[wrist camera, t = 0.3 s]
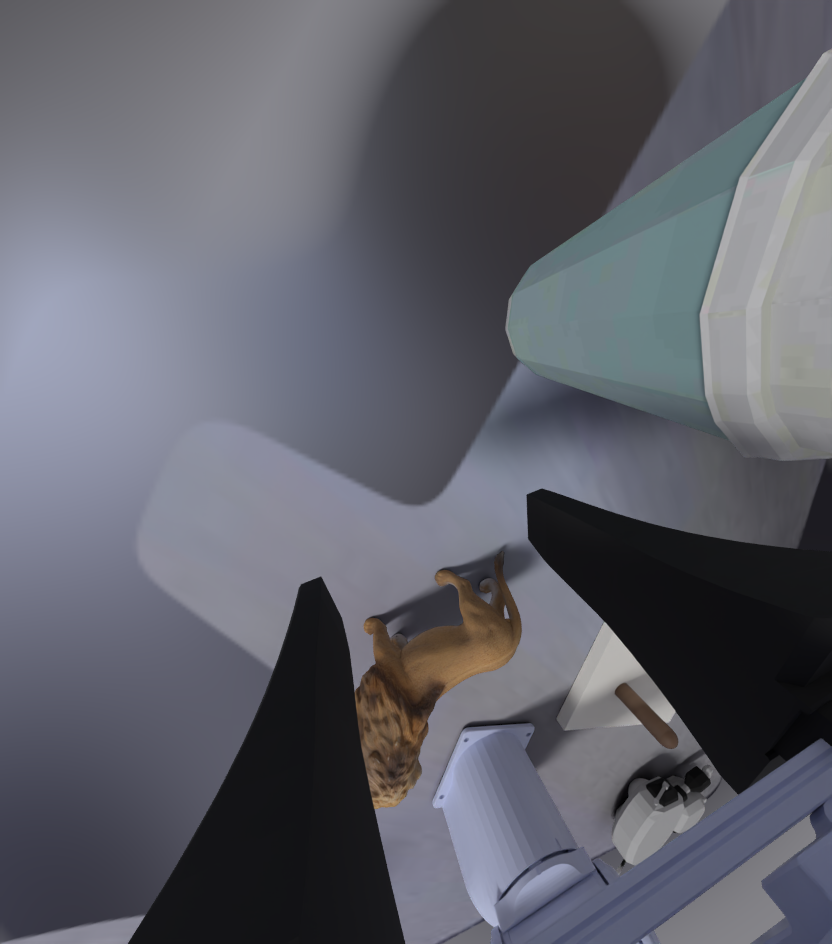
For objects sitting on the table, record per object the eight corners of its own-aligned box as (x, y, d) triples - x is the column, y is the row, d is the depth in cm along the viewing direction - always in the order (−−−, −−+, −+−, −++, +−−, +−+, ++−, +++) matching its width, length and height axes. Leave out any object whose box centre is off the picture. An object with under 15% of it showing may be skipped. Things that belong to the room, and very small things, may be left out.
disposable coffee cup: (573, 177, 19) (1271, -314, 5) (642, 334, 23) (1117, 294, 10) (438, 311, 19) (772, 176, 5) (533, 442, 23) (848, 555, 10)
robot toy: (693, 740, 47) (621, 768, 41) (731, 776, 43) (658, 812, 37) (659, 802, 50) (588, 836, 44) (692, 841, 46) (619, 885, 40)
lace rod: (623, 695, 34) (677, 752, 29) (612, 695, 34) (665, 754, 29) (630, 682, 34) (685, 738, 29) (619, 682, 33) (673, 740, 28)
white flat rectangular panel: (659, 712, 40) (669, 722, 39) (556, 718, 34) (564, 730, 33) (735, 580, 36) (748, 587, 35) (633, 563, 30) (645, 571, 29)
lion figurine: (365, 688, 26) (391, 841, 18) (319, 653, 24) (323, 809, 15) (513, 567, 26) (605, 660, 18) (481, 522, 24) (569, 605, 16)
